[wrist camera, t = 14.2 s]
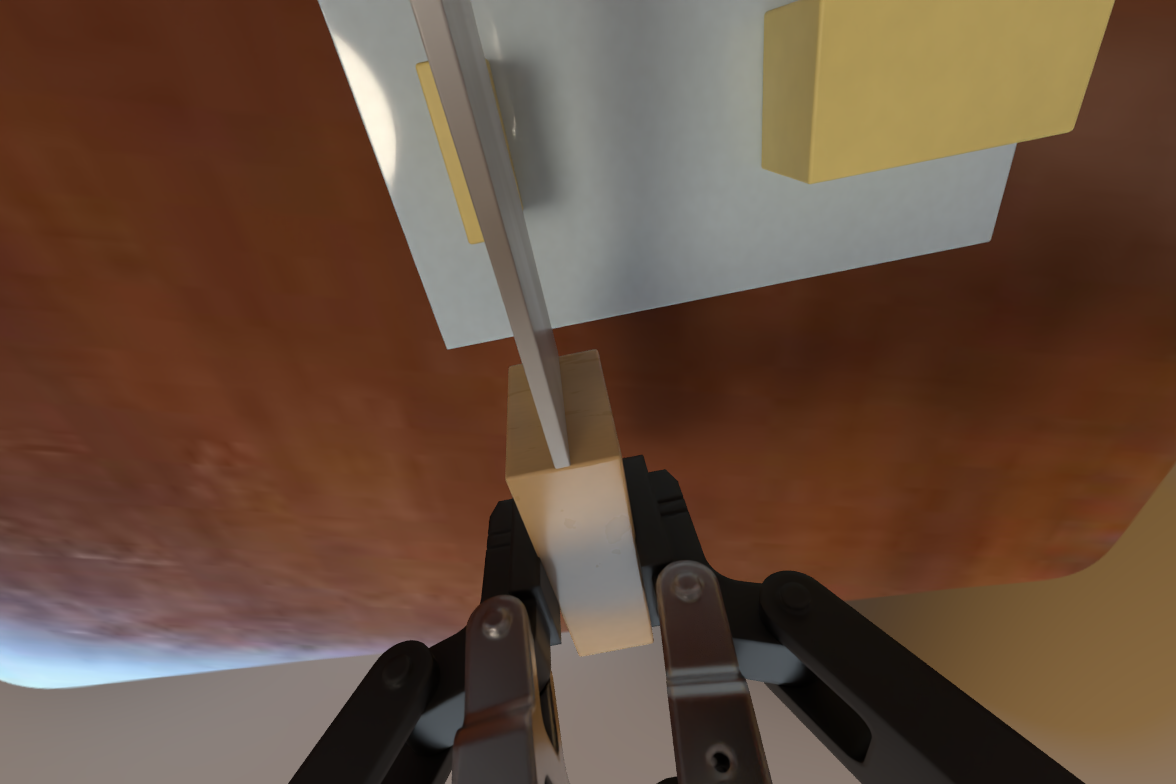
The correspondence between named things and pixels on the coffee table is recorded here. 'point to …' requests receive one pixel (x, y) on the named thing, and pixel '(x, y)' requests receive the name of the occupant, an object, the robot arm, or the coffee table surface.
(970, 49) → the butter stick
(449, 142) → the butter slice
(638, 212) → the light grey flat board
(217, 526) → the coffee table surface
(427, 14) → the knife
